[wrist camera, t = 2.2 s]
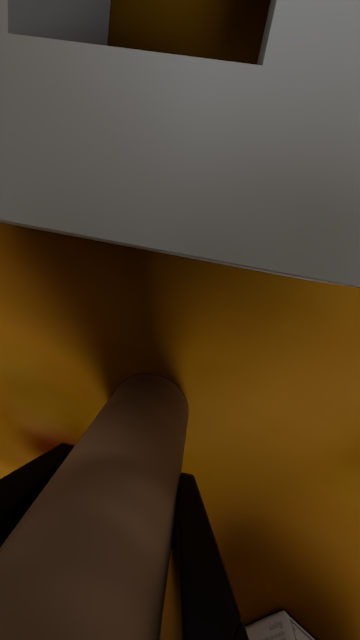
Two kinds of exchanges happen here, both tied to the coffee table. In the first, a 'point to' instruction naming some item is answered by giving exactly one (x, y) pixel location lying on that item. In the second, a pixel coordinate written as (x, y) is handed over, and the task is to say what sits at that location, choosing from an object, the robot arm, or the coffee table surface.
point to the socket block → (187, 139)
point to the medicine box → (277, 629)
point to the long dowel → (101, 526)
